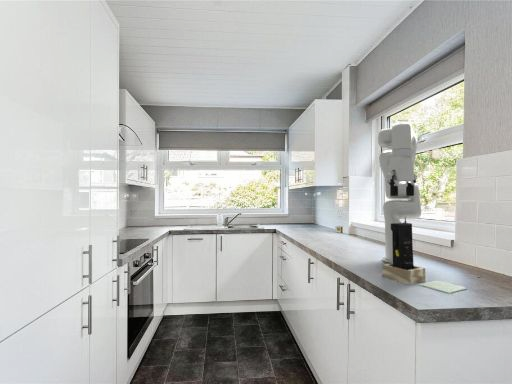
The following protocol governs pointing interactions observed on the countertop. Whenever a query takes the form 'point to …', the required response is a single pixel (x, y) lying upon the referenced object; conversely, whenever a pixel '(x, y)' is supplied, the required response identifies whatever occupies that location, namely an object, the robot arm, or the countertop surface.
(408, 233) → the portable radio
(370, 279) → the countertop surface
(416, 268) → the wooden pocket
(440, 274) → the countertop surface
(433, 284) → the rubber mat
